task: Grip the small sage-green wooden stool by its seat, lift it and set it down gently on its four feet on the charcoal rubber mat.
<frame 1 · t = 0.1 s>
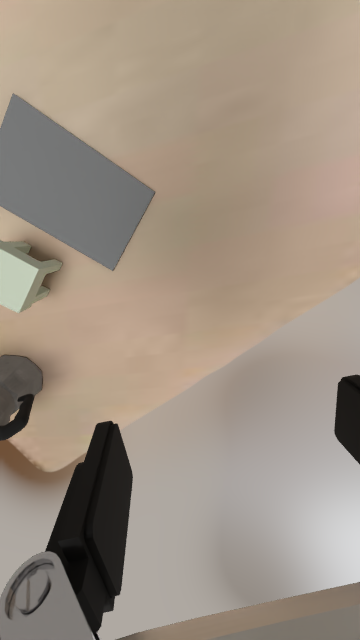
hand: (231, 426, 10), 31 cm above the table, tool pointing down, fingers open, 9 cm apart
coffeepot: (23, 375, 42), on the table
stool: (35, 269, 37), on the table
mat: (70, 193, 34), on the table
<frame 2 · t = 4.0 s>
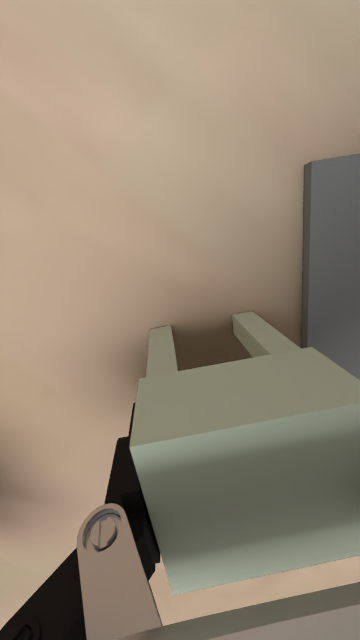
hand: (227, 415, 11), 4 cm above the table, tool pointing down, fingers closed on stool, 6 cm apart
stool: (207, 365, 15), on the table, touching gripper
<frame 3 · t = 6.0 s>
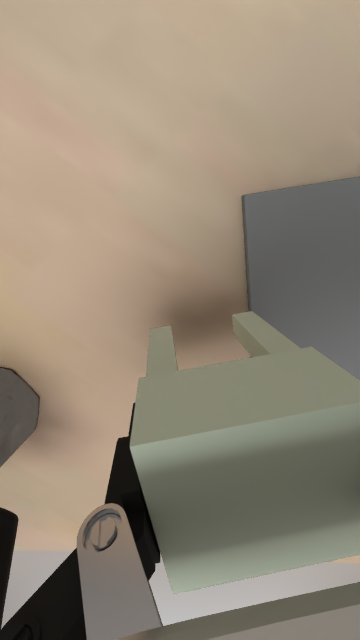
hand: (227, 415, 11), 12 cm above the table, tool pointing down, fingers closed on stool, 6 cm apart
coffeepot: (2, 409, 23), on the table
stool: (207, 365, 15), point 7 cm above the table, touching gripper
mat: (316, 302, 22), on the table
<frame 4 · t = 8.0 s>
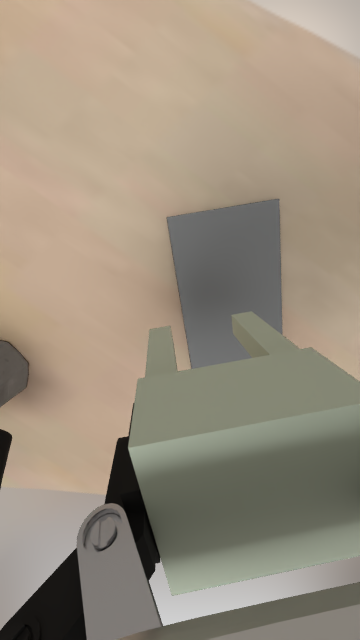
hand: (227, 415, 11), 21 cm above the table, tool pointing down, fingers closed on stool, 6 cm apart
coffeepot: (1, 372, 31), on the table
stool: (206, 365, 15), point 17 cm above the table, touching gripper
mat: (230, 292, 31), on the table
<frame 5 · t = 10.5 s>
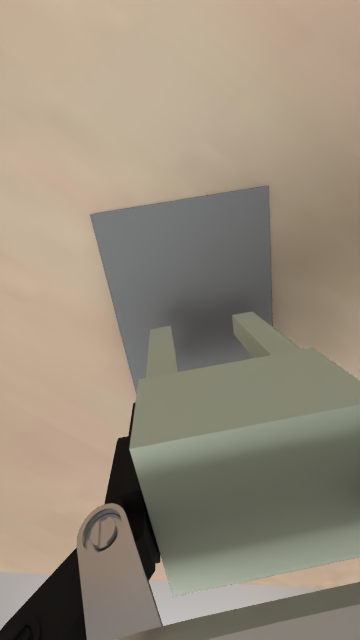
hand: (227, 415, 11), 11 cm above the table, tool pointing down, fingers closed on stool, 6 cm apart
stool: (207, 365, 15), point 7 cm above the table, touching gripper
mat: (196, 325, 21), on the table
when the fingers open (6 cm above the table, at t = 12.4 s): stool drops 1 cm, resting on mat.
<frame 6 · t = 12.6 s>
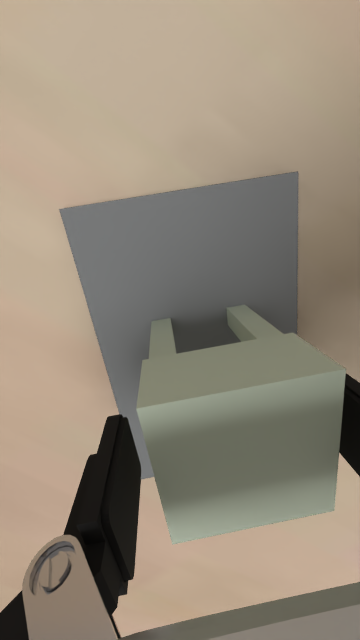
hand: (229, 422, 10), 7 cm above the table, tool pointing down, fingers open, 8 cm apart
stool: (204, 354, 16), point 1 cm above the table, touching mat
mat: (201, 351, 17), on the table
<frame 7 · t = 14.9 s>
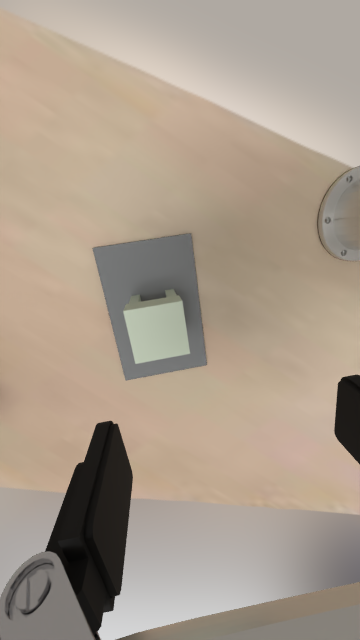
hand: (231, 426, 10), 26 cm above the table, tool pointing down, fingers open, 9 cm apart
stool: (156, 312, 35), point 1 cm above the table, touching mat
mat: (155, 311, 35), on the table
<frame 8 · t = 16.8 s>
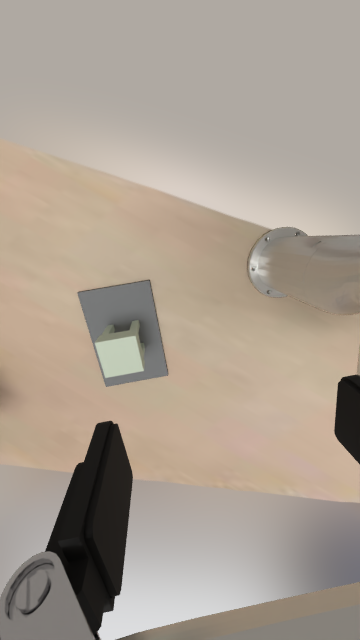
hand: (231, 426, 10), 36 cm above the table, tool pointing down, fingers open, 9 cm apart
stool: (126, 337, 46), point 1 cm above the table, touching mat
mat: (126, 336, 47), on the table
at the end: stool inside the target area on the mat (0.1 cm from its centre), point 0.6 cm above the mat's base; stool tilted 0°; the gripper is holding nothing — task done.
